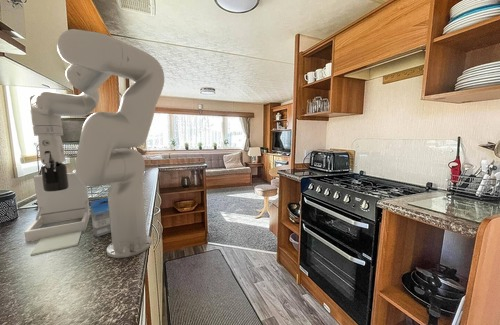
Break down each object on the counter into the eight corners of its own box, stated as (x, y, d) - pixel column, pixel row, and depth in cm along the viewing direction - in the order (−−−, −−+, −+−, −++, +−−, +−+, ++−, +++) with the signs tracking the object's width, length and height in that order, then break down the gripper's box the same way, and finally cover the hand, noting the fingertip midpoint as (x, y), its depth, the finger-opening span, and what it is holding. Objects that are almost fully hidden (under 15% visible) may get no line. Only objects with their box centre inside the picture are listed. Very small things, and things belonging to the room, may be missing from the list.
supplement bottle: (47, 193, 73) (42, 158, 71) (41, 190, 76) (36, 157, 75) (72, 188, 79) (68, 156, 77) (65, 186, 82) (61, 155, 81)
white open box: (85, 230, 80) (79, 179, 77) (25, 242, 71) (16, 185, 69) (90, 214, 95) (85, 171, 92) (41, 222, 87) (34, 175, 84)
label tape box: (97, 237, 75) (93, 203, 73) (93, 234, 77) (89, 201, 75) (124, 228, 82) (121, 197, 80) (119, 225, 84) (116, 195, 82)
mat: (77, 245, 69) (77, 243, 69) (30, 255, 63) (30, 254, 63) (81, 232, 79) (81, 230, 78) (41, 240, 73) (41, 238, 73)
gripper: (56, 130, 69) (64, 184, 72) (67, 131, 84) (73, 176, 86) (24, 131, 65) (33, 187, 68) (41, 132, 80) (48, 178, 83)
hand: (55, 180), depth 77 cm, fingers closed on supplement bottle, 6 cm apart
